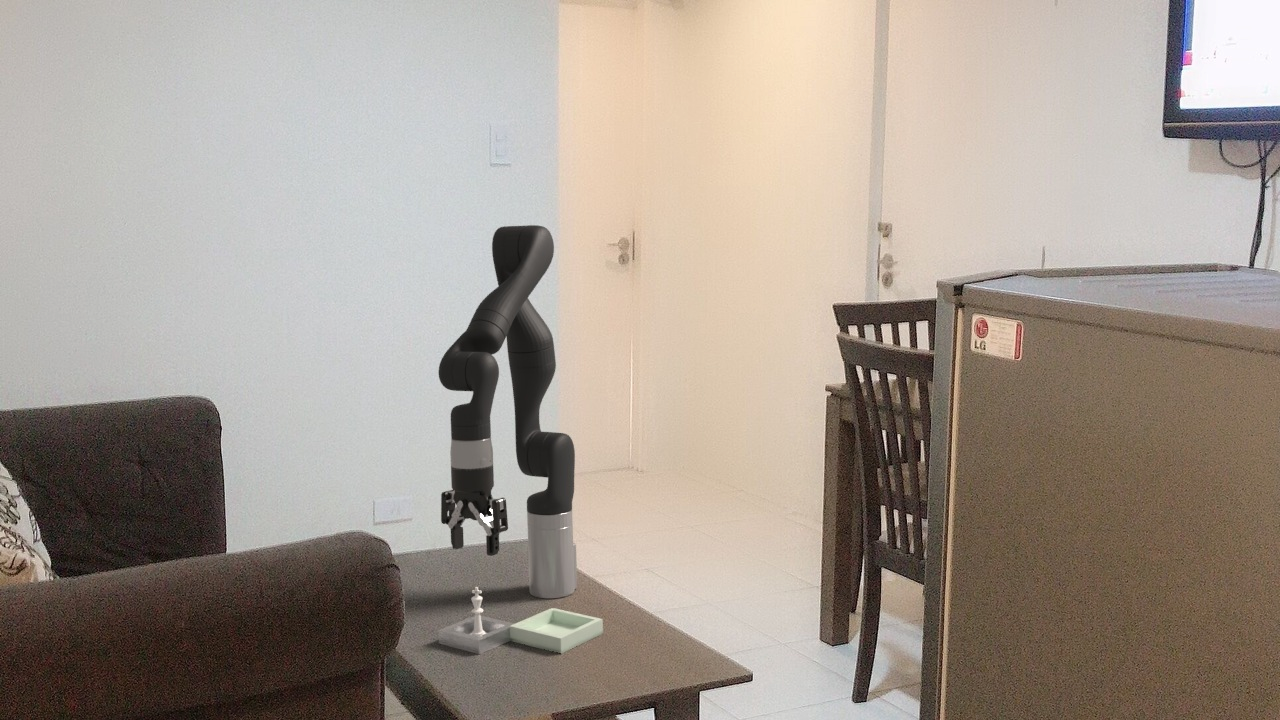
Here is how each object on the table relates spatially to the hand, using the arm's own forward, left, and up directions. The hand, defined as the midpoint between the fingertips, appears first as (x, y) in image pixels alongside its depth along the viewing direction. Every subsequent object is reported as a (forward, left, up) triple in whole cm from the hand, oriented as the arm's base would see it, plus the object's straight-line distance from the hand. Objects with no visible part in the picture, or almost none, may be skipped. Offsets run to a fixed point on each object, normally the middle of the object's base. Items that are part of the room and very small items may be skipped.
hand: (475, 551), depth 208 cm
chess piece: (0, 0, -17) cm, 17 cm away
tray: (-9, +11, -17) cm, 22 cm away
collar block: (0, 0, -17) cm, 17 cm away
